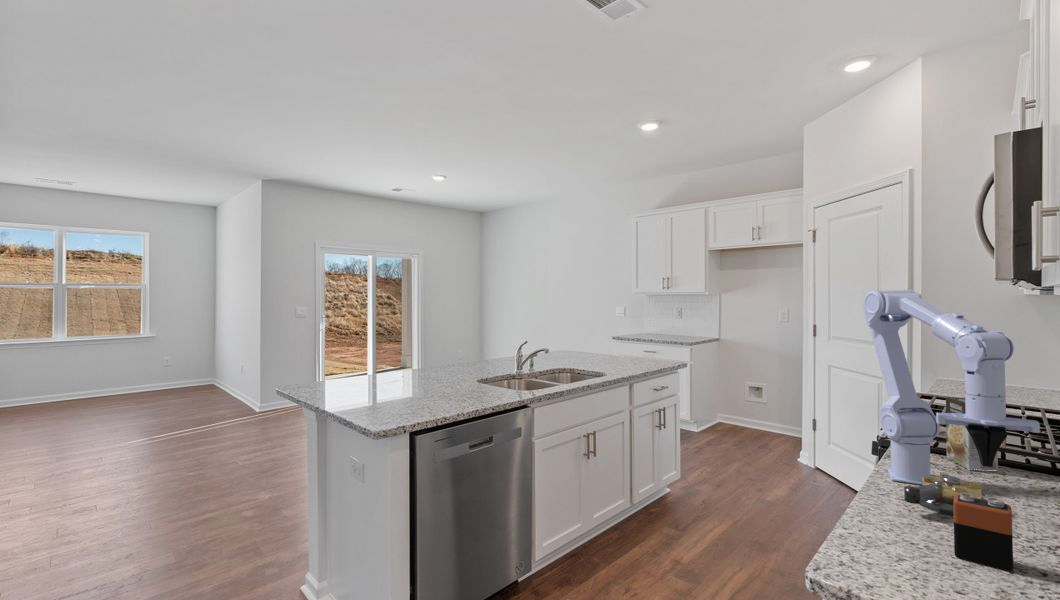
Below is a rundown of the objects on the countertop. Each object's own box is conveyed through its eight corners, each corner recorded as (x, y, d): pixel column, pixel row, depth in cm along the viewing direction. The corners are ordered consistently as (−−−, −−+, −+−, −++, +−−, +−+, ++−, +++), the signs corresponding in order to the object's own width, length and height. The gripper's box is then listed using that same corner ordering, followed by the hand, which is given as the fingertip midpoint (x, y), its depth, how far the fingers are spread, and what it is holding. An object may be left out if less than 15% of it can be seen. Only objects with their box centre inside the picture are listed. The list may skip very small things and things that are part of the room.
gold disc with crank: (941, 485, 105) (940, 468, 105) (992, 501, 96) (992, 482, 96) (884, 497, 99) (884, 479, 99) (934, 515, 90) (933, 495, 90)
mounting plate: (909, 489, 107) (909, 482, 107) (983, 500, 101) (983, 492, 101) (918, 509, 97) (918, 501, 97) (1000, 523, 91) (1000, 514, 91)
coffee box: (945, 459, 127) (943, 396, 127) (973, 460, 125) (972, 397, 125) (969, 471, 118) (967, 404, 118) (1000, 472, 116) (999, 404, 116)
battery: (1013, 573, 74) (1011, 507, 74) (954, 557, 79) (952, 495, 79) (1012, 561, 78) (1011, 498, 78) (955, 547, 82) (954, 488, 82)
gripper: (940, 394, 95) (941, 465, 95) (1045, 401, 87) (1047, 478, 87) (933, 389, 101) (935, 455, 101) (1031, 395, 93) (1033, 466, 93)
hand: (986, 465), depth 95 cm, fingers closed
